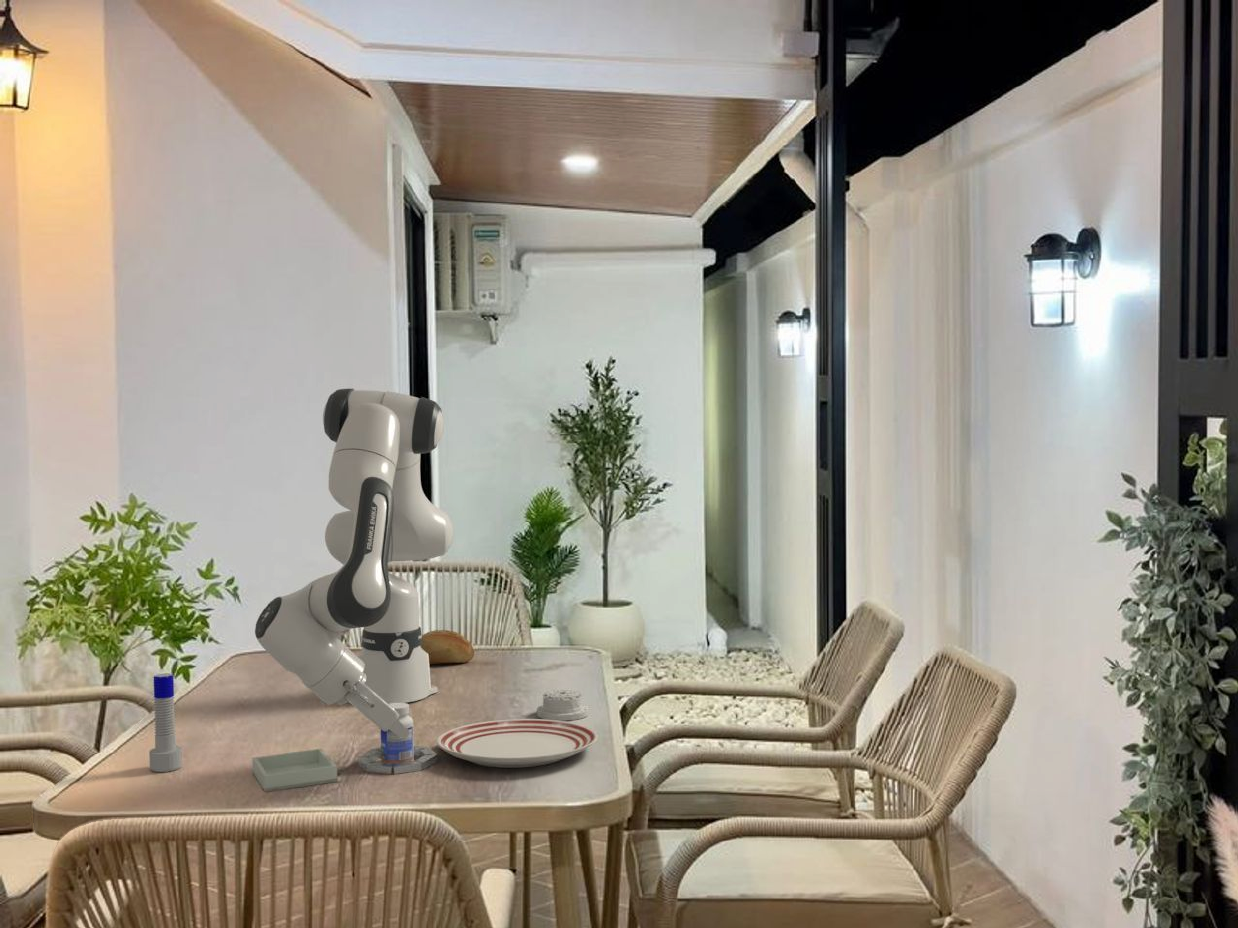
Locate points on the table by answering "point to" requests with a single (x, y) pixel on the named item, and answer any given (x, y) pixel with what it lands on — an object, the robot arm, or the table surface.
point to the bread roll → (446, 647)
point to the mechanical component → (562, 706)
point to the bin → (294, 770)
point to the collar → (370, 765)
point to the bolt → (164, 727)
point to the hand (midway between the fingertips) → (397, 728)
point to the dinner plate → (517, 742)
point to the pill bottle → (398, 739)
